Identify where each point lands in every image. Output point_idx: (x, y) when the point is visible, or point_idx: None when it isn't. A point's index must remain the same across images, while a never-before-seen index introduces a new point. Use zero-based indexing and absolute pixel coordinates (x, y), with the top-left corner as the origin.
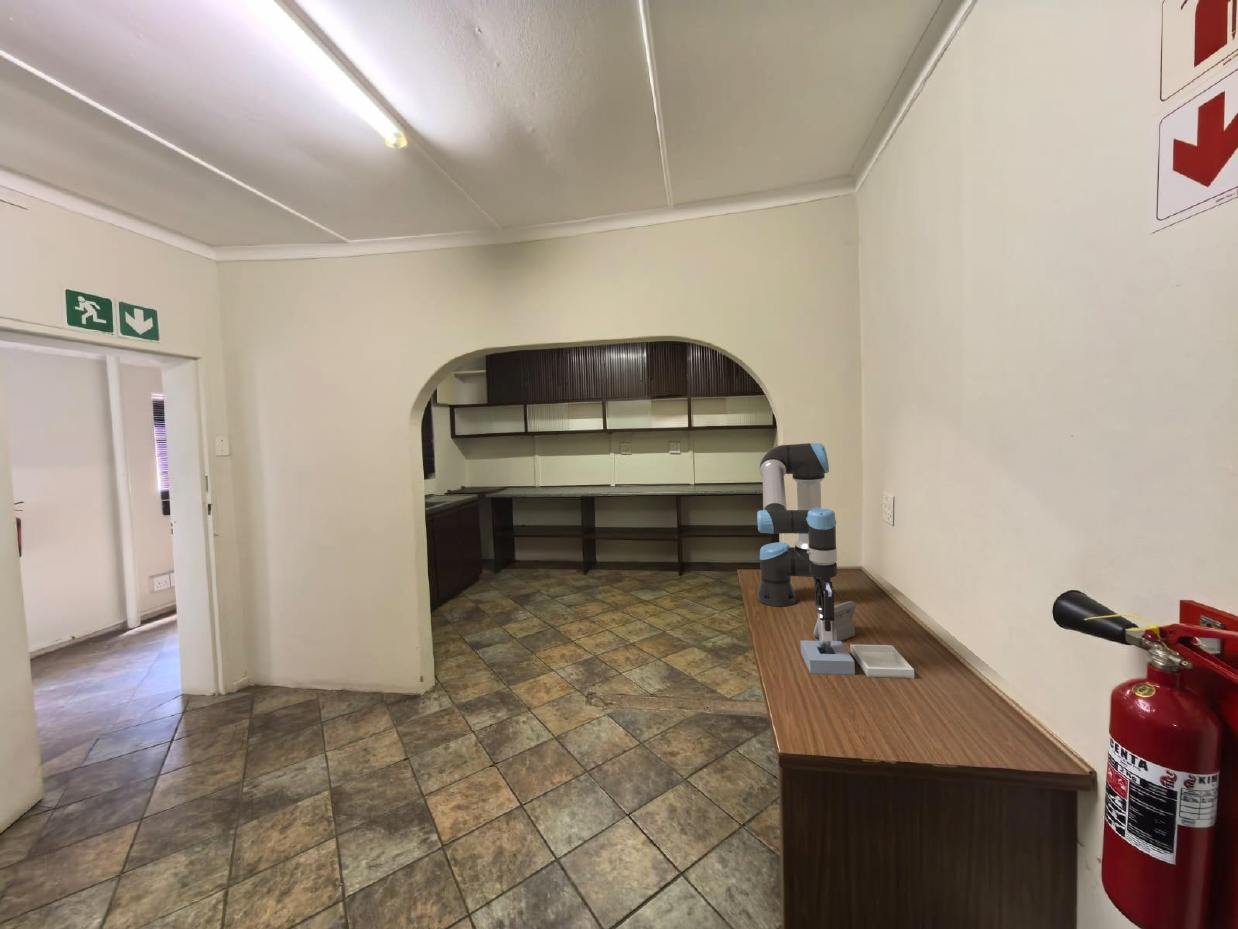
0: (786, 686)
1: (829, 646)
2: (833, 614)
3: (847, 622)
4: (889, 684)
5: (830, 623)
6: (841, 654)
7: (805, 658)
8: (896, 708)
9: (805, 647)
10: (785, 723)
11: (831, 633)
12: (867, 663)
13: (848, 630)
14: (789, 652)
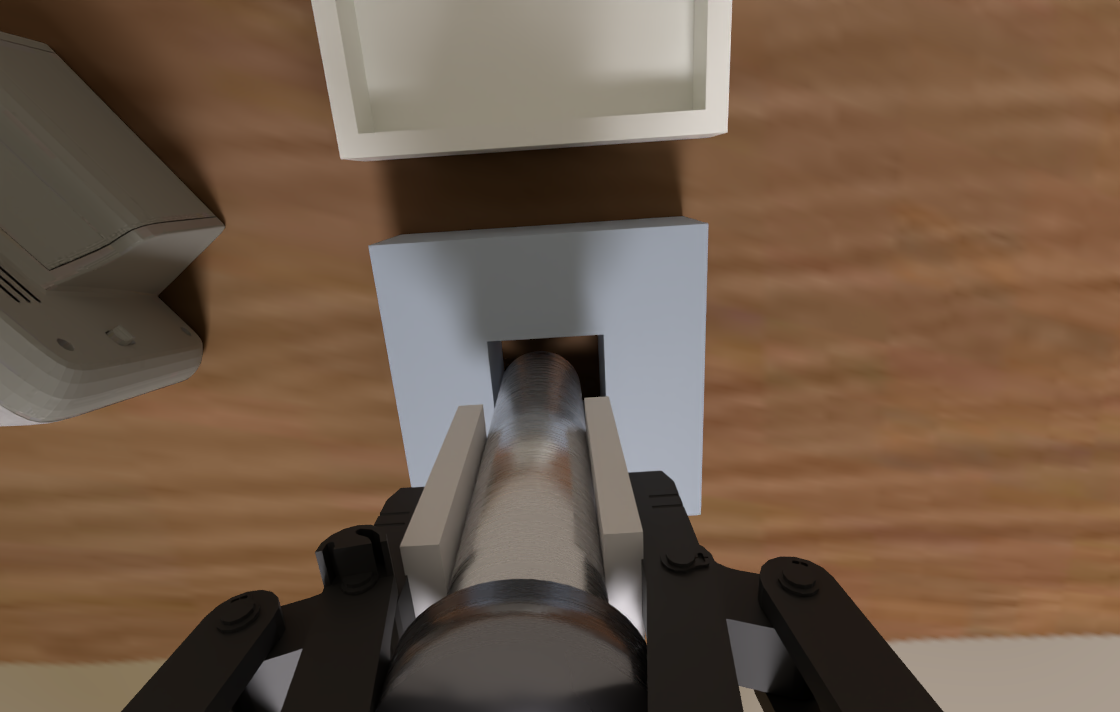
0: None
1: (576, 390)
2: (909, 681)
3: None
4: (799, 5)
5: (694, 538)
6: (603, 295)
7: None
8: (1070, 62)
9: None
10: (1090, 619)
11: (618, 438)
12: (548, 85)
13: (55, 102)
14: None
